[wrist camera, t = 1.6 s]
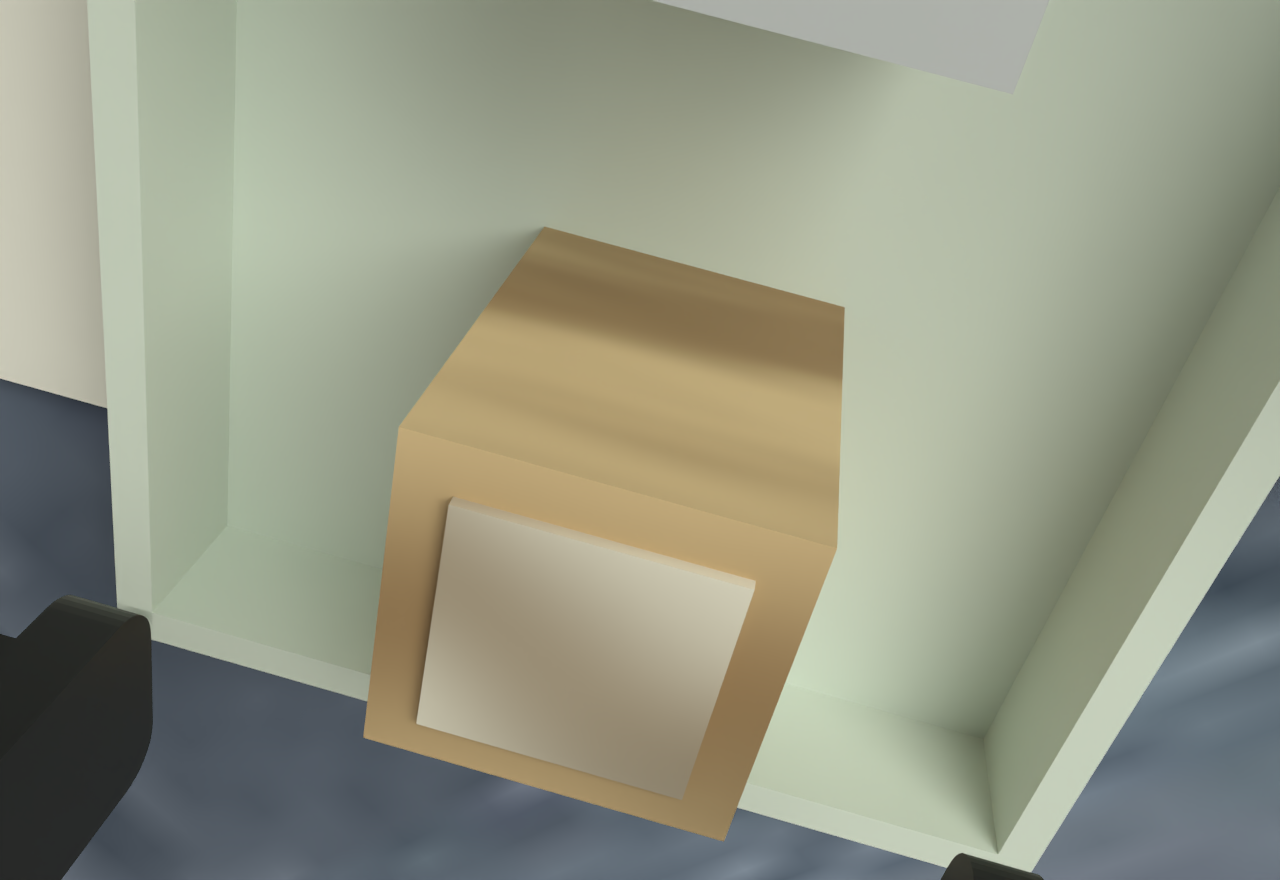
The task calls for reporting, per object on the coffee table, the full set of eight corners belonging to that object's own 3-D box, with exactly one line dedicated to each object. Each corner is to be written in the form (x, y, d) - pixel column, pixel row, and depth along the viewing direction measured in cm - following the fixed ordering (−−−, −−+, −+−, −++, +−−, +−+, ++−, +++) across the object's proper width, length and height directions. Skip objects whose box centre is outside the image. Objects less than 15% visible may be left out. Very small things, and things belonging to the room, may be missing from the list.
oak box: (544, 226, 16) (392, 433, 11) (844, 307, 16) (837, 556, 11) (500, 477, 19) (358, 746, 13) (761, 549, 18) (722, 851, 13)
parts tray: (222, -1153, 10) (13, -1462, 8) (1851, -788, 10) (2198, -991, 7) (209, 527, 21) (117, 629, 18) (1000, 750, 20) (1020, 888, 18)
